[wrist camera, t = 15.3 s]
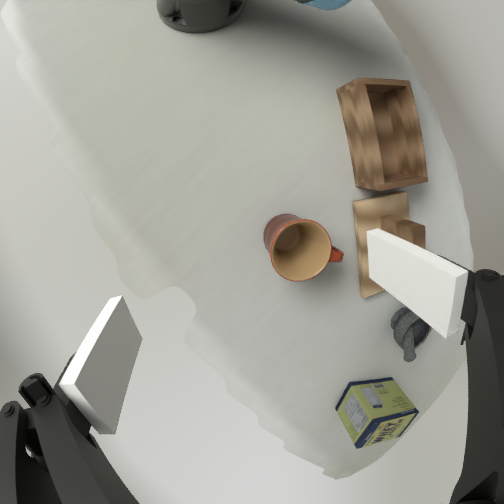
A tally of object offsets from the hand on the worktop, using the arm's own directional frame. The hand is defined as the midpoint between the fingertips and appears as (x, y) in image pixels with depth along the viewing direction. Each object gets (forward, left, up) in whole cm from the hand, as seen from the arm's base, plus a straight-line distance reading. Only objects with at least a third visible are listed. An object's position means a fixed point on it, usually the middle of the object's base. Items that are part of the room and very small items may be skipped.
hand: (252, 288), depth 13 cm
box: (-7, +29, -32) cm, 44 cm away
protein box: (+57, +24, -32) cm, 70 cm away
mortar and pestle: (+35, +33, -32) cm, 58 cm away
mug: (+8, +10, -32) cm, 34 cm away
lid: (+14, +28, -31) cm, 44 cm away
